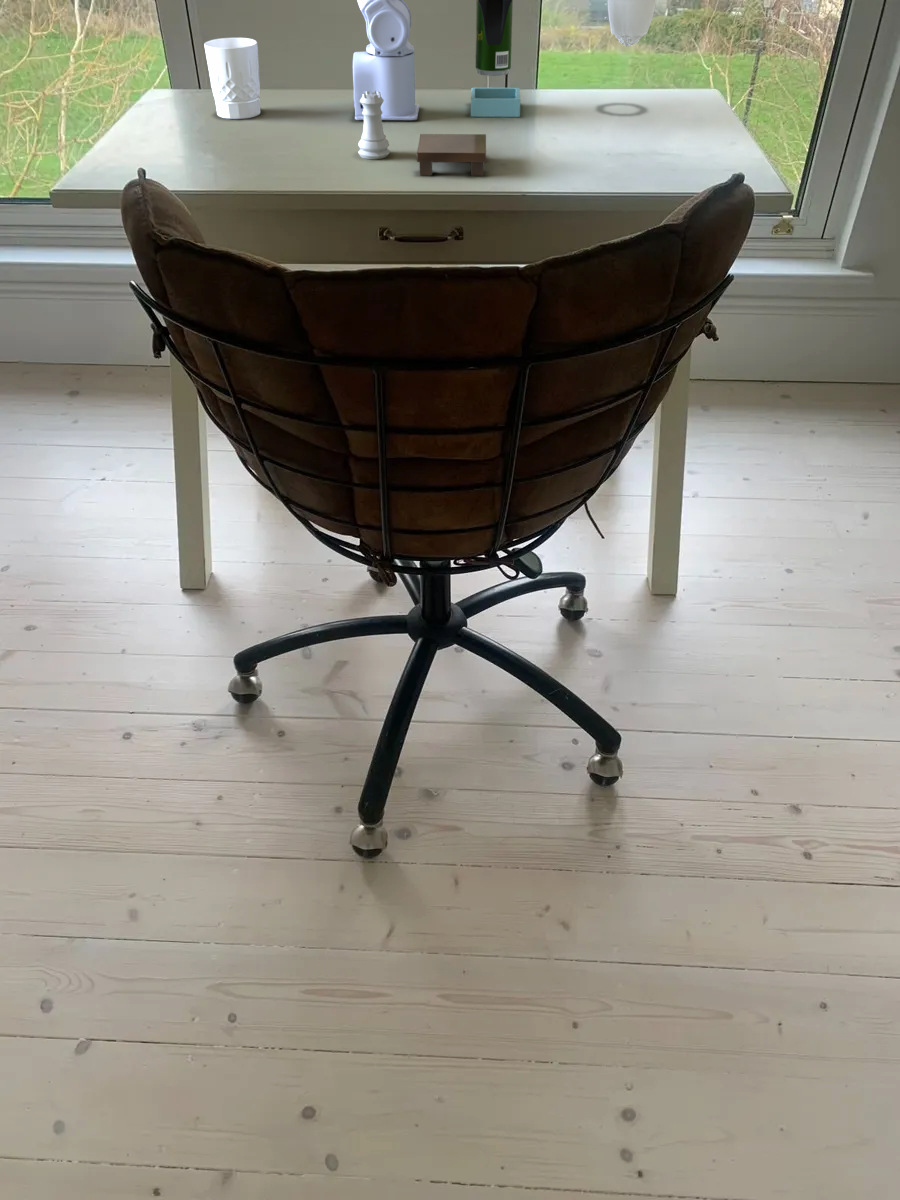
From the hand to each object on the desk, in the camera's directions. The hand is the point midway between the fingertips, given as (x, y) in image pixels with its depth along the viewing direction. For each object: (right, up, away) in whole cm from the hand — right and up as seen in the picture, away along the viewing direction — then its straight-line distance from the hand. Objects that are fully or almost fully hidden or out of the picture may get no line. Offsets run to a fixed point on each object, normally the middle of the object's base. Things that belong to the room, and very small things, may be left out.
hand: (493, 40), depth 157 cm
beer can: (0, -4, +3) cm, 5 cm away
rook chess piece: (-17, -22, -11) cm, 30 cm away
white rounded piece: (+21, -6, +9) cm, 23 cm away
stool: (-6, -25, -15) cm, 30 cm away
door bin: (+1, -7, +8) cm, 11 cm away
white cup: (-40, -8, +7) cm, 41 cm away
